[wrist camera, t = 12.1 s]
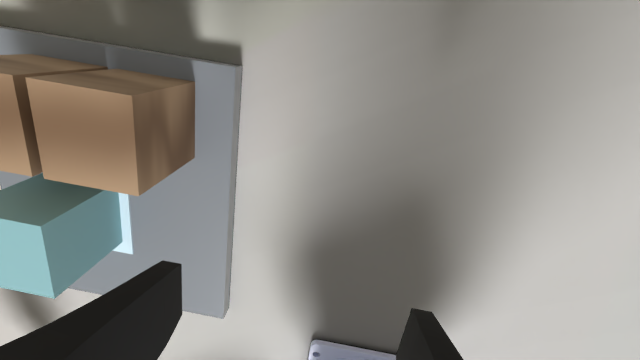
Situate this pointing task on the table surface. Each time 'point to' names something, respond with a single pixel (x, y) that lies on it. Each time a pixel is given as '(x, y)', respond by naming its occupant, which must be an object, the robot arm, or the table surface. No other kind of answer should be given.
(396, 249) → the table surface
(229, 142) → the baseplate
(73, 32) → the table surface
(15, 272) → the teal block
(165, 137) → the walnut blocks
